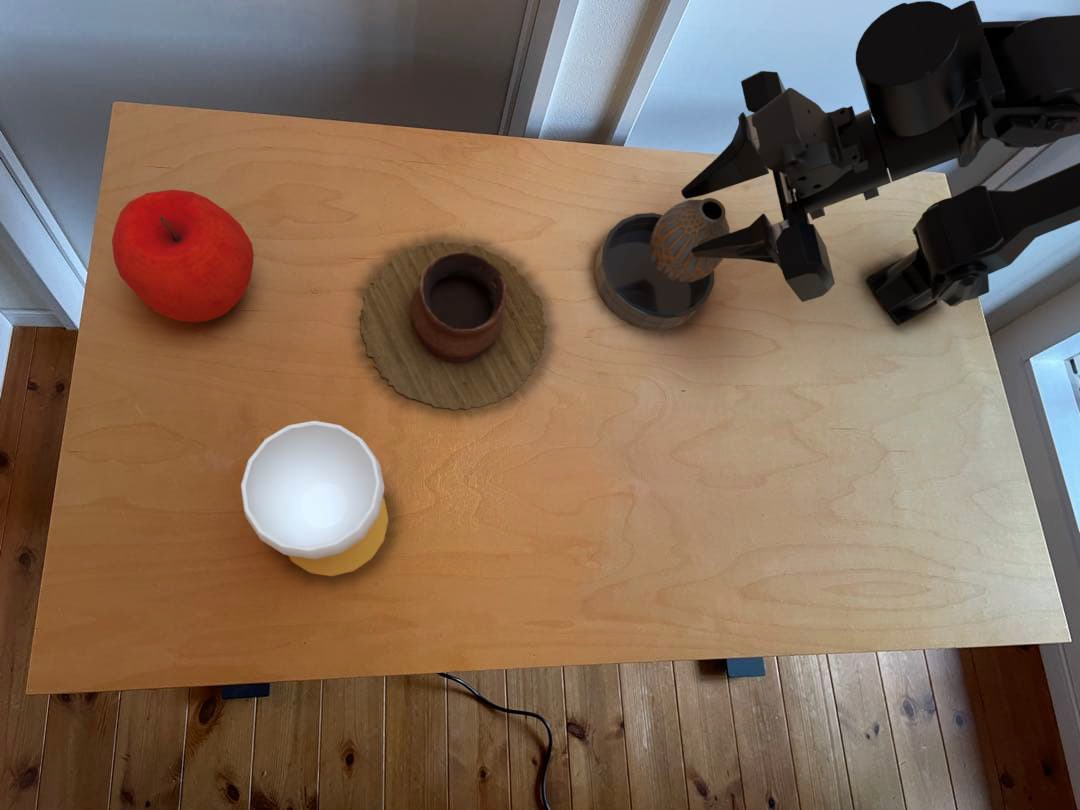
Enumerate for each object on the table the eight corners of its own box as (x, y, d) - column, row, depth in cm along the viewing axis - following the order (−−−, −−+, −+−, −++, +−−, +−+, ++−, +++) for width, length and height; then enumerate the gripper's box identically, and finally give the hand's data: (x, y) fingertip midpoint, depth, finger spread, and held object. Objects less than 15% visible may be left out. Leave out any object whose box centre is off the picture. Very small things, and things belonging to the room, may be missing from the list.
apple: (270, 251, 64) (243, 169, 53) (260, 347, 61) (229, 282, 49) (156, 242, 62) (102, 155, 51) (139, 341, 59) (78, 272, 47)
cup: (280, 470, 58) (240, 415, 43) (388, 468, 60) (386, 415, 45) (274, 579, 55) (228, 560, 40) (387, 573, 57) (384, 554, 42)
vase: (718, 285, 66) (763, 236, 58) (656, 300, 64) (693, 252, 56) (691, 225, 67) (731, 169, 59) (630, 238, 66) (662, 182, 57)
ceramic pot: (548, 255, 70) (563, 216, 63) (543, 418, 64) (560, 394, 57) (370, 231, 67) (367, 188, 60) (348, 401, 61) (342, 373, 54)
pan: (663, 214, 74) (674, 197, 71) (722, 303, 72) (736, 290, 69) (573, 252, 70) (580, 236, 68) (632, 348, 68) (642, 336, 65)
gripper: (831, -23, 47) (633, 84, 56) (895, 205, 42) (665, 287, 50) (859, 71, 56) (685, 152, 65) (915, 270, 51) (717, 330, 59)
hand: (688, 223), depth 59 cm, fingers closed on vase, 5 cm apart
